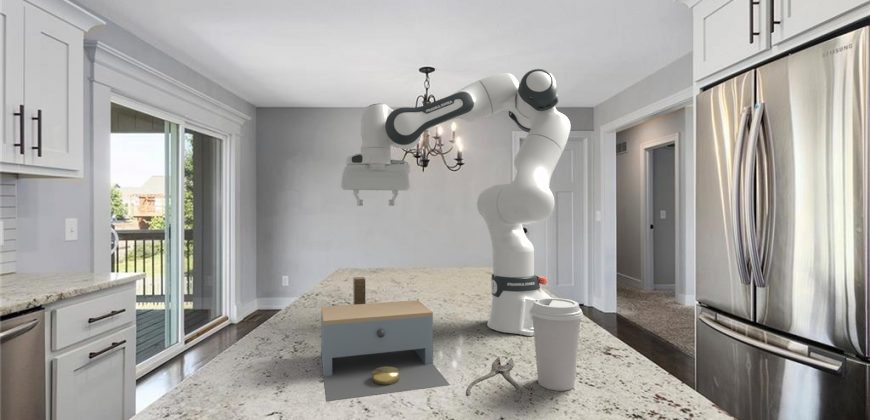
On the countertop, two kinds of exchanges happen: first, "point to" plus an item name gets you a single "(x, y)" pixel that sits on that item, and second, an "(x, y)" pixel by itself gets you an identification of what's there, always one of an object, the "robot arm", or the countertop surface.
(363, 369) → the mat
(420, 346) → the cabinet
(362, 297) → the sweep tool
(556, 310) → the coffee cup
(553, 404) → the countertop surface
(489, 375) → the pliers
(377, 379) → the token
